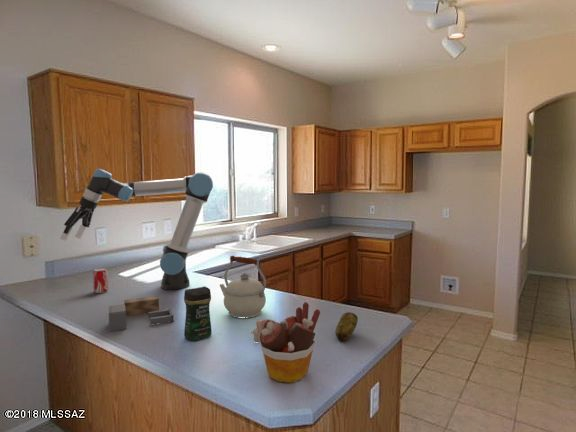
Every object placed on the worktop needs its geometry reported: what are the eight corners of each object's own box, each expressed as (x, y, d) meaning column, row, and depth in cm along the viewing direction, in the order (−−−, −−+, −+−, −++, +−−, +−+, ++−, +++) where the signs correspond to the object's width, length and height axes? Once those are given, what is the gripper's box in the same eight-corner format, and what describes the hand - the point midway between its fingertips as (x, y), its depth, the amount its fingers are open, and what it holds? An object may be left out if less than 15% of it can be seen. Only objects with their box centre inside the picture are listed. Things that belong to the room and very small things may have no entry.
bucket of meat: (285, 398, 100) (285, 325, 98) (245, 376, 112) (244, 311, 110) (330, 370, 115) (331, 307, 113) (291, 353, 126) (291, 295, 124)
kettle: (277, 311, 167) (276, 256, 165) (252, 324, 152) (252, 264, 149) (232, 302, 180) (232, 250, 178) (206, 313, 164) (205, 257, 162)
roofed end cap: (125, 321, 155) (124, 304, 154) (126, 328, 147) (125, 310, 147) (109, 323, 153) (108, 306, 152) (109, 331, 145) (108, 313, 144)
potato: (326, 338, 139) (326, 317, 138) (346, 328, 148) (346, 308, 147) (344, 344, 133) (345, 322, 132) (364, 334, 142) (365, 313, 141)
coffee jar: (190, 343, 134) (189, 292, 132) (181, 336, 140) (180, 287, 138) (215, 337, 140) (214, 288, 138) (205, 330, 146) (204, 283, 144)
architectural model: (250, 342, 136) (250, 322, 135) (264, 336, 141) (263, 317, 141) (257, 344, 134) (257, 324, 133) (270, 338, 139) (270, 319, 138)
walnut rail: (158, 308, 171) (157, 296, 170) (159, 312, 167) (158, 298, 166) (124, 313, 165) (124, 300, 164) (124, 316, 161) (124, 303, 160)
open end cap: (170, 314, 163) (170, 309, 163) (173, 321, 155) (173, 315, 155) (148, 317, 159) (148, 312, 159) (150, 325, 151) (150, 319, 151)
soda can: (102, 294, 192) (101, 271, 191) (90, 293, 194) (89, 270, 193) (111, 290, 199) (110, 268, 198) (99, 289, 201) (98, 267, 199)
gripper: (95, 197, 194) (76, 233, 194) (69, 194, 169) (48, 236, 169) (108, 203, 194) (89, 240, 194) (85, 201, 170) (63, 244, 169)
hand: (70, 238), depth 181 cm, fingers open, 13 cm apart
